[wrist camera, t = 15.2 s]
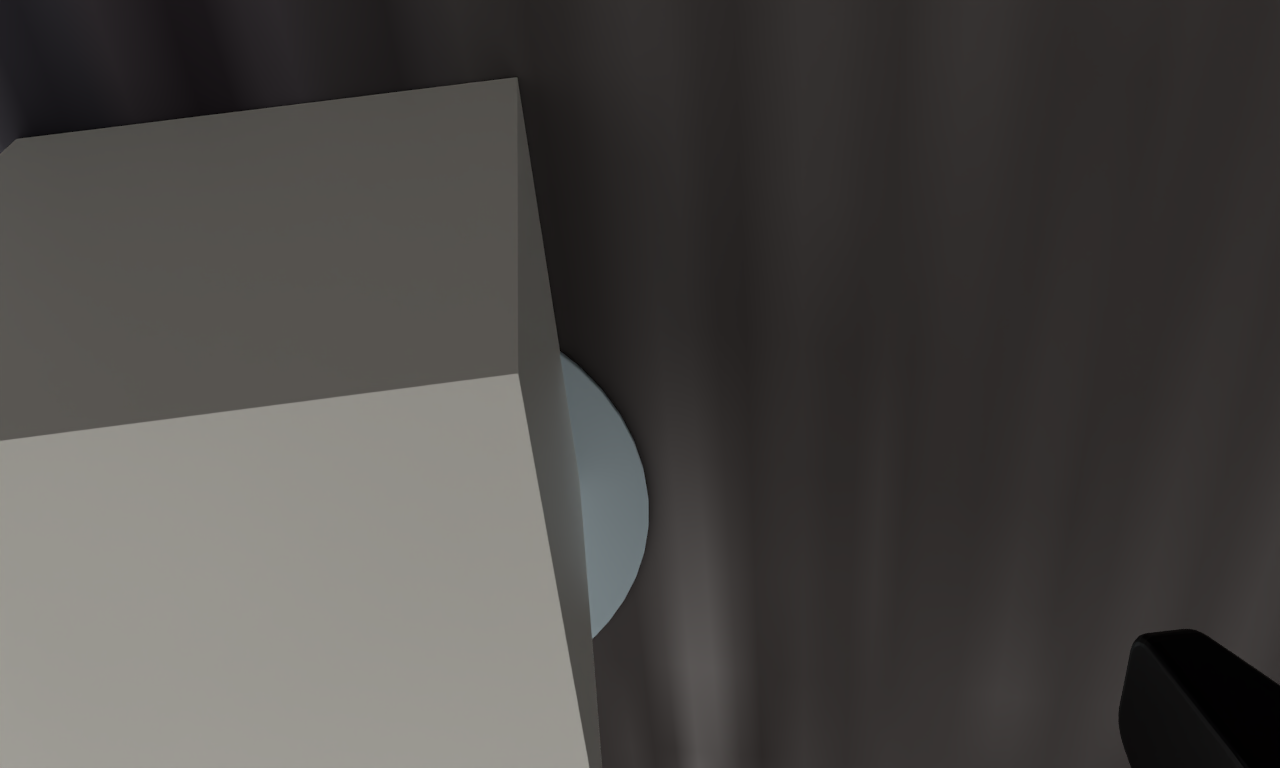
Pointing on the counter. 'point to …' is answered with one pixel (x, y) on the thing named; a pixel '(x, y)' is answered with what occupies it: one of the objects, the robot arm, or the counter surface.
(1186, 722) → the robot arm
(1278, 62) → the counter surface
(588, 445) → the disc
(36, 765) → the matte gray cube
